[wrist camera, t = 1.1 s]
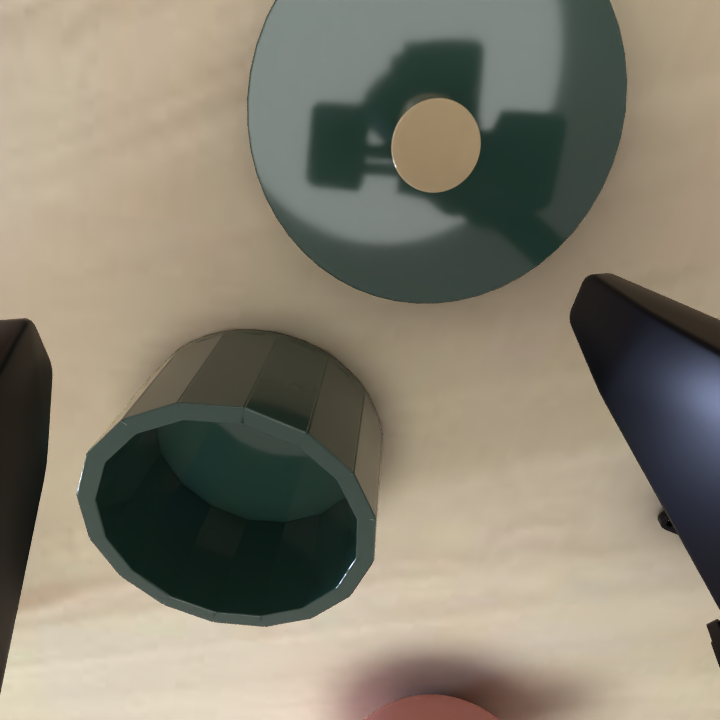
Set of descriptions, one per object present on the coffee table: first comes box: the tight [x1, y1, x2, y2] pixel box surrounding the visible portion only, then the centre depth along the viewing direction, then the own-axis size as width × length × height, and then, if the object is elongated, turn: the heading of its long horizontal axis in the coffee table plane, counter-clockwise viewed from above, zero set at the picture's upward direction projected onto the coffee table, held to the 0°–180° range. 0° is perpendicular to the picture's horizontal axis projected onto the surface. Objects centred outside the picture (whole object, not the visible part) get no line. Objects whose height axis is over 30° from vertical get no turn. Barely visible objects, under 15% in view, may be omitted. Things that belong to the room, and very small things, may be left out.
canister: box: [77, 330, 383, 627], centre depth 26 cm, size 13×13×6 cm
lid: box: [247, 0, 627, 303], centre depth 18 cm, size 14×14×6 cm
